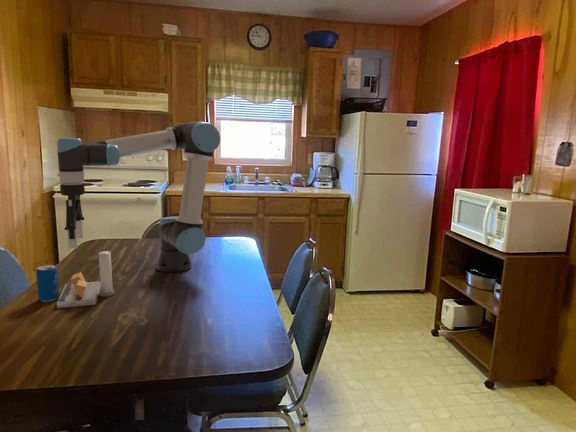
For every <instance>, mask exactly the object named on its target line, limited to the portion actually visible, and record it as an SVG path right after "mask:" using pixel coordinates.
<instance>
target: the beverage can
mask: <svg viewBox="0 0 576 432" xmlns="http://www.w3.org/2000/svg"><path fill="white" fill-rule="evenodd" d="M35 273H36V281H37V282H36V283H37V284H36V285H37V293H38V300H39V301H41V302H42V303H51V302H54V301H57V300H58V299H59V297H60V284H59V274H58V268H57V266H56V265H54V264H45V265H40V266H38V267H37V269H36V271H35Z"/></svg>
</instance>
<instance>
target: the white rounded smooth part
mask: <svg viewBox="0 0 576 432" xmlns="http://www.w3.org/2000/svg"><path fill="white" fill-rule="evenodd" d="M111 255H112V254H111V251H109V250H105V251H100V252H98V265H99V267H98V268H99V280H100V285H101V287H100V290H99V294H98V296H100V297H101V298H106V297H112V296H114V295H115V291H116V290H114V289H113V287H114V286H113V273H112V272H113V270H112V256H111Z"/></svg>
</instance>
